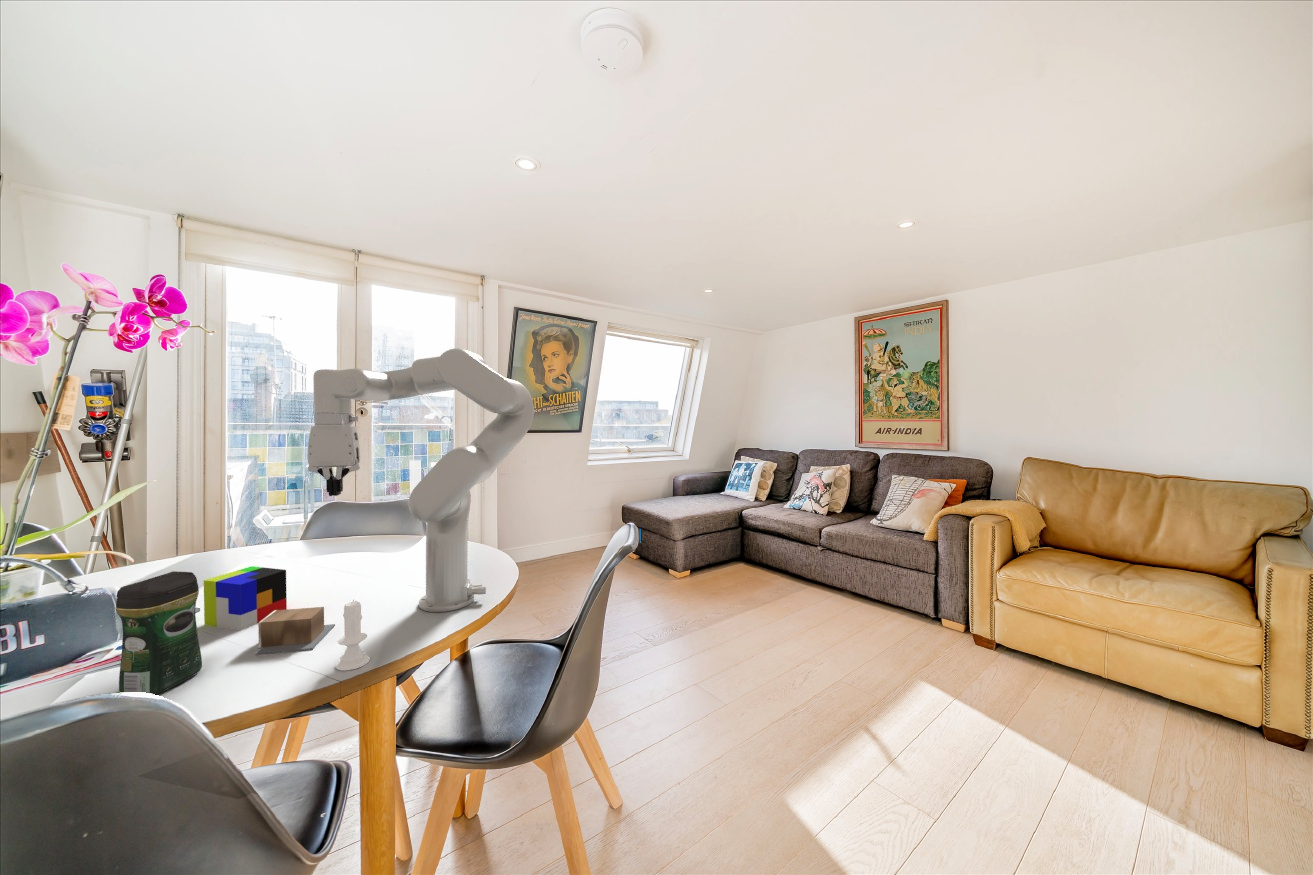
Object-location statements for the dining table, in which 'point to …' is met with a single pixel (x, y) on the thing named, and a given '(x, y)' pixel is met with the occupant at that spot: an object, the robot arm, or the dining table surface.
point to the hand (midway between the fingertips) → (334, 494)
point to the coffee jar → (158, 632)
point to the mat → (296, 646)
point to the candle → (352, 639)
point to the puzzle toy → (244, 597)
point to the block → (291, 626)
